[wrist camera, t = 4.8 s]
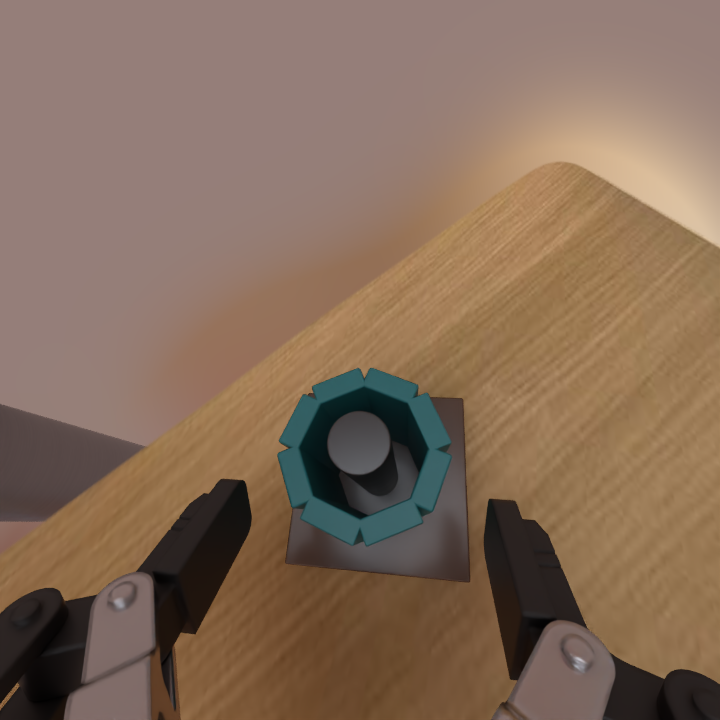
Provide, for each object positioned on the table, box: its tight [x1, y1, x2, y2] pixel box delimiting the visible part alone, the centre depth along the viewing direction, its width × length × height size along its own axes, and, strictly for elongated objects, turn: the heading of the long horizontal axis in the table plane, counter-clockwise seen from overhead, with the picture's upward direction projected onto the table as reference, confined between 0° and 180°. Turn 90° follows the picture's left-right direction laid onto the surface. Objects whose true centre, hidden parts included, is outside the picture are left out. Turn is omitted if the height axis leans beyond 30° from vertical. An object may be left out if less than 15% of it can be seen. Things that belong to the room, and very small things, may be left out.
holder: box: [285, 393, 470, 582], centre depth 16 cm, size 9×9×10 cm
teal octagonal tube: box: [277, 368, 452, 547], centre depth 16 cm, size 6×6×8 cm
